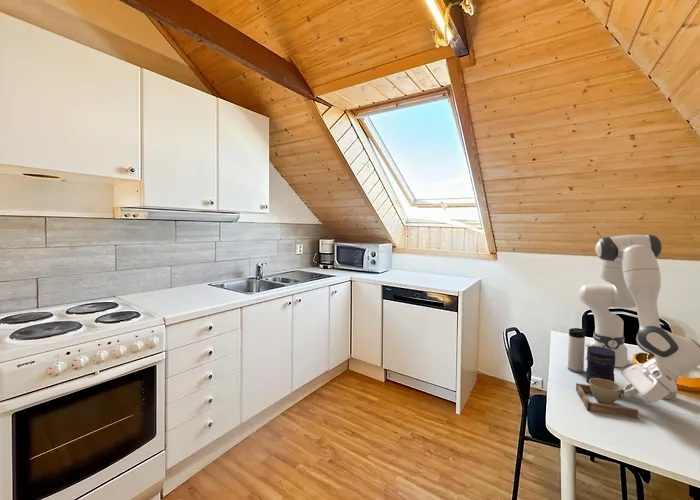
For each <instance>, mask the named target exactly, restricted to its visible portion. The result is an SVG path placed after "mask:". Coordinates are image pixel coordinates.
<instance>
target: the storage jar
mask: <svg viewBox="0 0 700 500" xmlns="http://www.w3.org/2000/svg"><path fill="white" fill-rule="evenodd" d="M602 346H603V347H598V346H590V347H588V348H587V350H588V351H587V359H586V361H587V363H586V364H587V366H586V367H587V368H586V372H585V377H586V379H585V381H586V383H587V385H589V380H590V379H593V378H599V379H605V380H609V381H612V382H615V378H616V377H615V373H614V372H615V367H614V366H615V352H614V351H613V350H611V349H608V348H604V347H606V346H605V345H602Z"/></svg>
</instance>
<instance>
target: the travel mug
mask: <svg viewBox="0 0 700 500" xmlns="http://www.w3.org/2000/svg"><path fill="white" fill-rule="evenodd" d="M586 330H587V329H585V328H579V327H573V328H569V329H568V346H567V347H568V349H567V351H568V352H567V354H568V355H567V369H568V370H569V371H571V372H573V373H584V370H585V369H584V367H585V356H584V348H586V336H585V335H586V332H587V331H586Z"/></svg>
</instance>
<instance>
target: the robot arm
mask: <svg viewBox="0 0 700 500" xmlns="http://www.w3.org/2000/svg"><path fill="white" fill-rule="evenodd" d="M662 247H663V246H662V242H661V240H660V238H659V237H658V236H656V235H653V234H624V235H617V236H616V235H615V236H605V237H602V238H599V239H598V240H597V241H596V245H595V254H596V256H597V257H598V258H599V259H600V266H599V276H600V278H601V279H602V280H603V281H604V282H606V283H609V284H605V283H604V284H603V283H591V284H590V283H589V284H588V283H587V284H583V285H582V286H580V287H579V290H578V298H579V300H580V301H581V302H582V303H583V304H584V305H585V306H587V307H588V308H589V310H591V312H592V314H593V317H594V327H595V328H594V331H593V335H592V339H591V340H590V341H588V343H587V342H585V348H584V360H587V351H588V350H587V348H588V347H590V346H598V347H603V346H602V345H605V346H606V347H604V348H608V349H611V350H613V351H614V352H615V366H614V368H624V367H626V366H629V365H630V366H629V367H627V368H624V369H623V370H621V375H622V376H623V377H624V378H625V379H626V381H628V382H626V384H625V385H624V386H623V388H622V389H621V394H622V395H624V397H626V398H629V397H630V396H635V395H638V394H640V395H641V396H642V398H644V399H645V400H646V402H648V403H651V404H652V403H656V402H659V401H660V400H662V399H665V398H664V397H666V396H667V395H668V394H669V393H670V392H672V393H673V392H675V391H676V392H677V391H678V387H676V384H675V380H677V381H678V379H679V378H680V377H681V376H682V375H684V374H686V373H690V372H691V371H693V370H694V369H696V368H698V367H699V366H700V344H699V343H697V341H696V340H694V339H692V338H690V337H685V336H682V335H678V334H675V333H672V332H671V331H668V330H665V329H664V328H662V326H661V322H660V321H661V320H660V318H659V317H660V316H659V312H658V298H659V294H660V291H661V286H662V285H661V284H662V281H661V280H662V279H661V278H662V277H661V271H660V266H659V264H658V260H657V257H659V256H660V254H661V253H662ZM609 308H618V309H619V308H620V309H635V308H636V313H637V320H638V324H639V325H638V326H639V327H638V331H637V334H636V336H635V342H636V345H637V346H638V347H639V349H641V350H642V351H643V352H645V353H647V354H650V355H654V356H653V357H651V358H650V359H648V360H646V361H645V362H643V363H642V362H641V363H634V364H632V361H631V360H629V358H628V347H627V346H626V345H625V336H624V320H623V318H621V317H620V316H619V315H617V314H615V313H613V312H612V311H610V310H609Z"/></svg>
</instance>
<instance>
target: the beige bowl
mask: <svg viewBox="0 0 700 500" xmlns="http://www.w3.org/2000/svg"><path fill="white" fill-rule="evenodd" d="M588 385H590V389H591V391H592V393H591V394H592V396H593V397H594V399H595V401H597V403H599V404H606V405H612V406H613V404H614V403H615V402H616V401H617V400H618V399H619V395H620V392H621V389H623V388H622V386H621V385H620V384H618V383H617V382H615V381H614V382H612V381H609V380H605V379H599V378H593V379H590V380H589V384H588ZM621 393H622V392H621Z"/></svg>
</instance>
